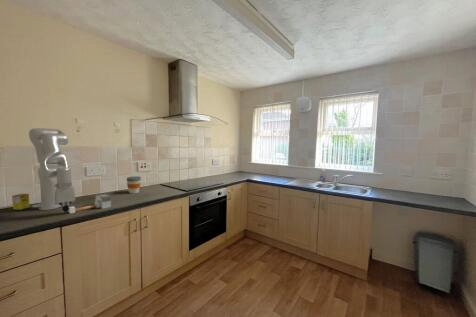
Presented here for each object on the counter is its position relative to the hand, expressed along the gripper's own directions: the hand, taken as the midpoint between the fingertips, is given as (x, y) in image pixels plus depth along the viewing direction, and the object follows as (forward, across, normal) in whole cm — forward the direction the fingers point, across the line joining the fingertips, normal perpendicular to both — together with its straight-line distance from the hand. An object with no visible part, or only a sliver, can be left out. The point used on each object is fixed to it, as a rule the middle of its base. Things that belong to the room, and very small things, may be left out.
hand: (65, 211), depth 136 cm
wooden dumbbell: (+2, +13, 0) cm, 13 cm away
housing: (+2, +23, +1) cm, 23 cm away
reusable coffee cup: (+2, +57, +27) cm, 63 cm away
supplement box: (+2, -19, +34) cm, 39 cm away
